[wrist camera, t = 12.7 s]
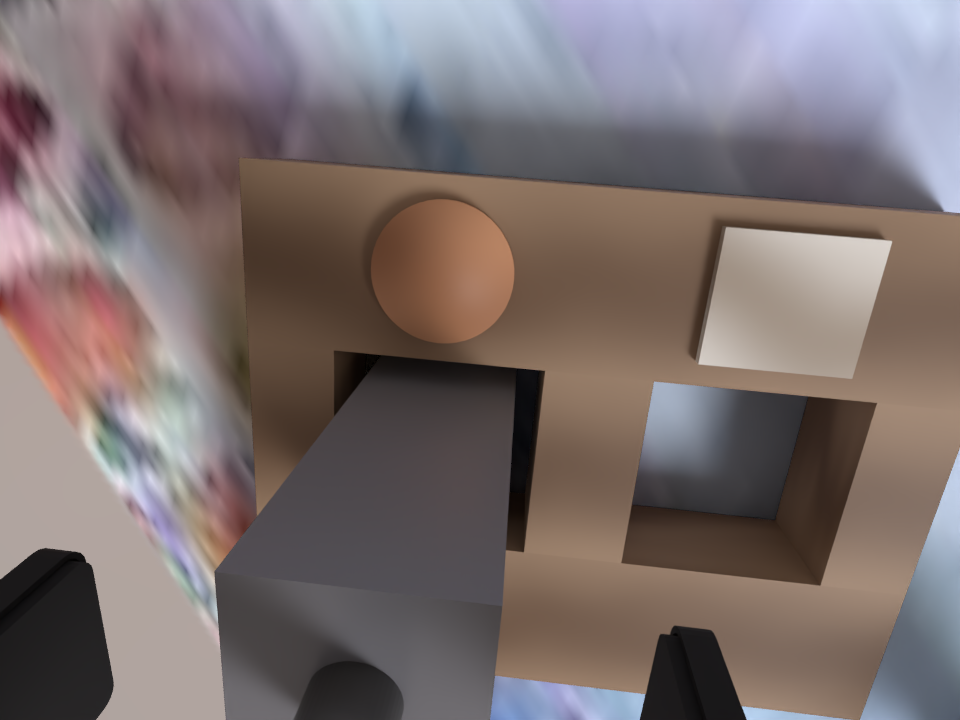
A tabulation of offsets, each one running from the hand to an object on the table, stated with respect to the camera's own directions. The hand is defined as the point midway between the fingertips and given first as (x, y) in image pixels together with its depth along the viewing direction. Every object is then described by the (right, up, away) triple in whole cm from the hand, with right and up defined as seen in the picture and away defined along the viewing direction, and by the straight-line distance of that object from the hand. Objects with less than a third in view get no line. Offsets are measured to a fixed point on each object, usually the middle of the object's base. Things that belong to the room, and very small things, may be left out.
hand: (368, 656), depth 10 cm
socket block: (+5, +3, +11) cm, 12 cm away
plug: (+1, +3, +11) cm, 12 cm away
